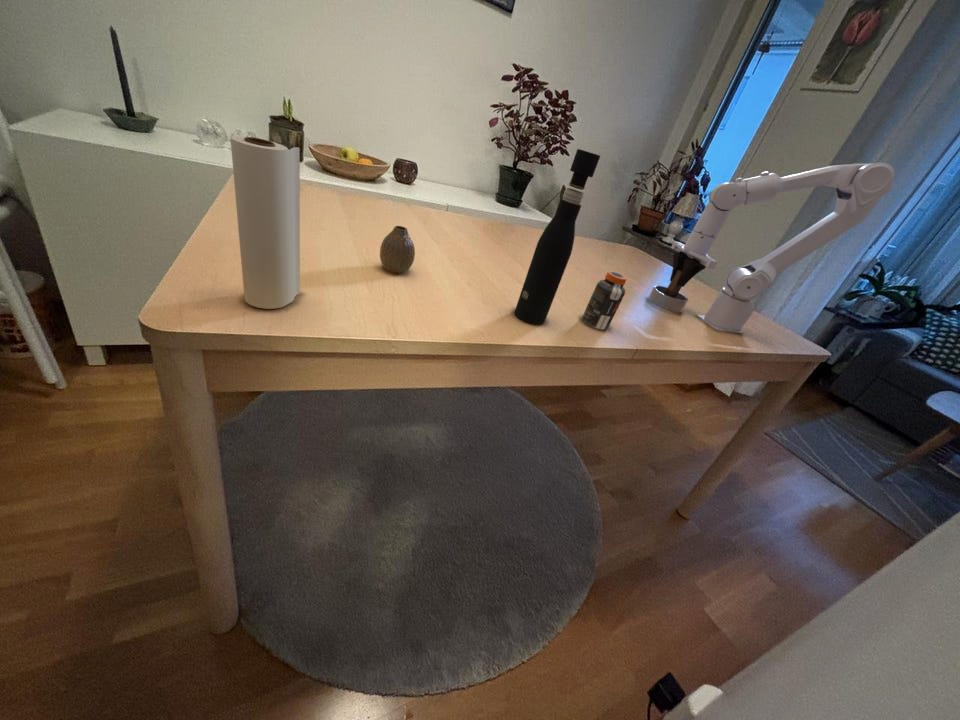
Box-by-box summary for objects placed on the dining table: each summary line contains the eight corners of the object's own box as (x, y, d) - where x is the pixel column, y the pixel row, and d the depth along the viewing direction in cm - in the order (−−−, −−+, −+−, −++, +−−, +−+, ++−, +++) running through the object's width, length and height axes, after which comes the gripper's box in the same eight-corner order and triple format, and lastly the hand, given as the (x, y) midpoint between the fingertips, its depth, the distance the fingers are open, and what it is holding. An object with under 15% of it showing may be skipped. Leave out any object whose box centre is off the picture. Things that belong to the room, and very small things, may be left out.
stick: (668, 299, 106) (683, 270, 101) (672, 302, 104) (689, 273, 100) (661, 298, 105) (677, 269, 101) (666, 301, 103) (682, 272, 99)
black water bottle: (548, 318, 78) (610, 158, 62) (539, 328, 73) (605, 157, 57) (520, 306, 79) (574, 147, 64) (509, 315, 74) (565, 145, 58)
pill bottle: (609, 333, 79) (634, 283, 73) (582, 324, 79) (604, 274, 74) (606, 322, 84) (629, 274, 78) (581, 313, 85) (602, 265, 79)
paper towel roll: (241, 308, 53) (225, 137, 42) (247, 289, 58) (234, 131, 46) (298, 312, 56) (297, 153, 45) (299, 294, 61) (299, 145, 49)
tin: (666, 300, 111) (673, 288, 109) (687, 316, 103) (695, 302, 101) (640, 296, 108) (647, 283, 106) (660, 311, 100) (668, 298, 98)
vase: (418, 273, 80) (425, 232, 76) (396, 279, 75) (402, 235, 70) (394, 261, 83) (399, 220, 78) (370, 265, 77) (375, 222, 73)
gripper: (673, 222, 99) (649, 271, 107) (712, 240, 88) (682, 293, 95) (694, 227, 102) (668, 274, 109) (734, 245, 90) (703, 297, 97)
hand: (676, 283), depth 102 cm, fingers closed on stick, 2 cm apart
